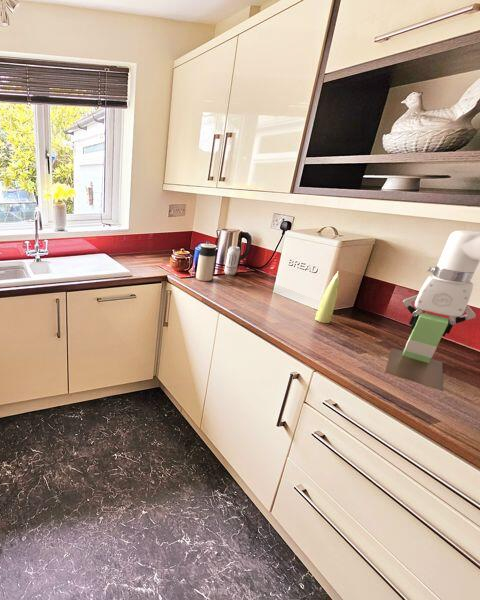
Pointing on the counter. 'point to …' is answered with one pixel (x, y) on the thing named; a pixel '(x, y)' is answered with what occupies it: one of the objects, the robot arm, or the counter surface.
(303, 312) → the counter surface
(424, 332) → the block
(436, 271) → the robot arm
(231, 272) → the white bottle
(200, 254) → the travel mug
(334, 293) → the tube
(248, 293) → the counter surface
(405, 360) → the stand
